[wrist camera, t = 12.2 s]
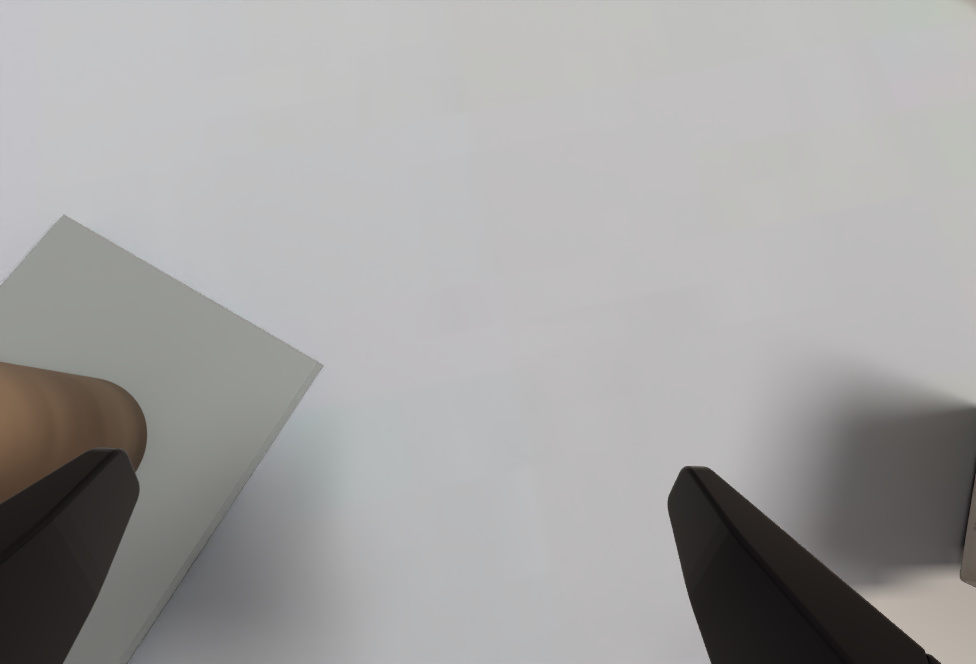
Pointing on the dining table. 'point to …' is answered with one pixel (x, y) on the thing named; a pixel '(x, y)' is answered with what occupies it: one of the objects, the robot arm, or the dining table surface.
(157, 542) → the slate board
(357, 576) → the dining table surface
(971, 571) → the coffee box
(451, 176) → the dining table surface
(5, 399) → the pepper mill
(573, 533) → the dining table surface
